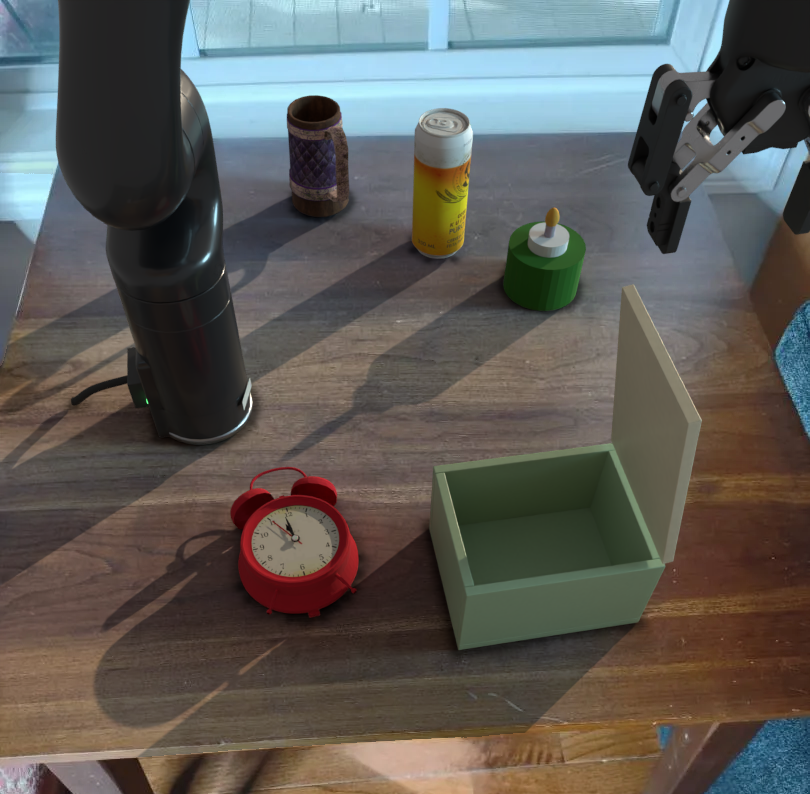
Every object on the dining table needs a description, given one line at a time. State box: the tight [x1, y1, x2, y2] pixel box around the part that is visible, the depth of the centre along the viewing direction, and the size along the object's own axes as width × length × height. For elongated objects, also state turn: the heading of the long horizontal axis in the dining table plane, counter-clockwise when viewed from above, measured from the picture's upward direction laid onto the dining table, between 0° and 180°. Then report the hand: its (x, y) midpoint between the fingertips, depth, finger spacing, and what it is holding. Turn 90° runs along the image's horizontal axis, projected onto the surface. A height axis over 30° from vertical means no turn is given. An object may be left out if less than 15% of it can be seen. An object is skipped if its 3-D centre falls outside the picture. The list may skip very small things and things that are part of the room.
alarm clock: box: [229, 466, 359, 619], centre depth 75 cm, size 10×6×15 cm
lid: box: [610, 283, 703, 565], centre depth 62 cm, size 16×13×1 cm
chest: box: [428, 442, 666, 651], centre depth 72 cm, size 16×13×9 cm
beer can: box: [411, 107, 474, 260], centre depth 95 cm, size 6×6×15 cm
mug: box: [286, 94, 350, 218], centre depth 100 cm, size 10×7×12 cm
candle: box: [502, 207, 587, 312], centre depth 93 cm, size 8×8×10 cm
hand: (728, 236), depth 53 cm, fingers open, 8 cm apart
